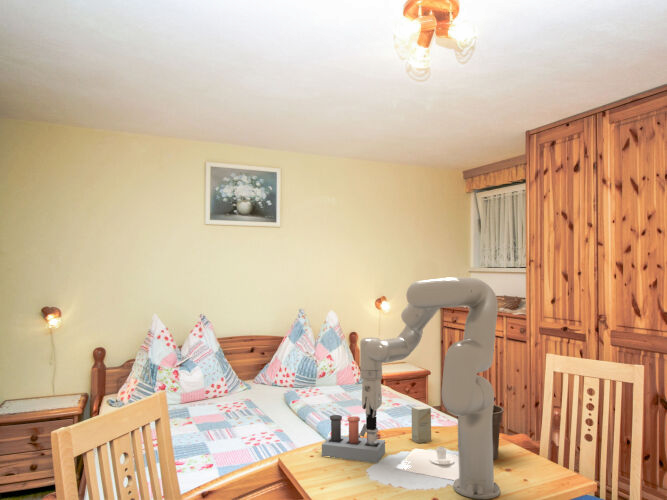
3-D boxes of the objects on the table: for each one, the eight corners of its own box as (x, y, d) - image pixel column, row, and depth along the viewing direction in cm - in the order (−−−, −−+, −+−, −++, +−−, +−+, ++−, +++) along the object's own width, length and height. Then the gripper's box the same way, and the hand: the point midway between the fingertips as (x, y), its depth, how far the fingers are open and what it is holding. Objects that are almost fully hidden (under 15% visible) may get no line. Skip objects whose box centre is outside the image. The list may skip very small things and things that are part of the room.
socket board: (377, 463, 150) (377, 450, 151) (321, 456, 157) (321, 444, 157) (385, 452, 161) (385, 440, 161) (332, 446, 167) (332, 434, 168)
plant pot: (497, 447, 165) (496, 401, 166) (511, 464, 149) (509, 413, 150) (451, 446, 166) (450, 400, 168) (460, 463, 150) (458, 412, 152)
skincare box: (418, 443, 169) (418, 409, 171) (411, 440, 173) (410, 407, 174) (432, 440, 173) (431, 407, 174) (424, 437, 176) (423, 405, 177)
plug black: (339, 442, 159) (339, 418, 159) (328, 441, 160) (328, 417, 161) (343, 438, 163) (343, 415, 163) (332, 437, 164) (332, 414, 165)
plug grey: (376, 455, 154) (376, 431, 155) (364, 454, 155) (364, 430, 156) (379, 451, 158) (379, 427, 159) (367, 450, 159) (367, 426, 160)
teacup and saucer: (450, 468, 145) (449, 455, 145) (425, 464, 149) (425, 451, 149) (457, 459, 153) (456, 446, 153) (433, 455, 157) (433, 442, 157)
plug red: (357, 444, 156) (357, 420, 157) (346, 443, 158) (346, 419, 159) (361, 440, 160) (361, 417, 161) (349, 439, 162) (349, 416, 162)
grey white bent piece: (348, 447, 165) (348, 424, 166) (348, 446, 167) (348, 423, 168) (368, 447, 166) (368, 424, 166) (367, 445, 167) (367, 423, 168)
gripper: (376, 379, 151) (376, 436, 149) (386, 371, 165) (386, 423, 163) (354, 377, 153) (354, 434, 152) (366, 369, 167) (366, 421, 166)
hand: (371, 428), depth 158 cm, fingers closed
